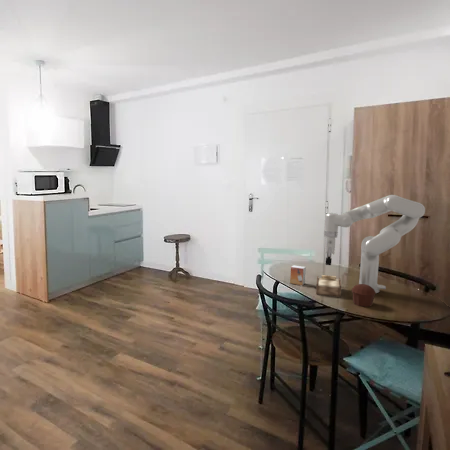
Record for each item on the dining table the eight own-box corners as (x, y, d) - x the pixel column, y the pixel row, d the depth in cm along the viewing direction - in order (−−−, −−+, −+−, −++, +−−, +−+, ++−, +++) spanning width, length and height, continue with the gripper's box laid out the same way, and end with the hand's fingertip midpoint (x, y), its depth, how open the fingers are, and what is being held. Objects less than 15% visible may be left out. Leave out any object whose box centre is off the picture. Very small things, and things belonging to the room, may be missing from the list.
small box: (289, 283, 212) (290, 266, 211) (292, 281, 217) (293, 264, 216) (302, 285, 208) (303, 268, 207) (305, 283, 213) (306, 266, 212)
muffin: (346, 303, 180) (347, 284, 178) (356, 298, 187) (357, 280, 186) (369, 309, 171) (371, 289, 170) (378, 304, 179) (380, 285, 178)
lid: (338, 280, 202) (338, 275, 201) (339, 287, 188) (339, 282, 188) (318, 279, 205) (319, 274, 205) (318, 285, 192) (318, 280, 191)
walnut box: (339, 288, 204) (340, 278, 203) (340, 297, 189) (341, 286, 188) (316, 286, 208) (317, 276, 207) (316, 294, 192) (316, 283, 192)
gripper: (337, 236, 196) (335, 268, 198) (337, 233, 210) (334, 262, 212) (324, 235, 198) (321, 267, 200) (324, 232, 212) (321, 261, 214)
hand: (328, 264), depth 206 cm, fingers closed
